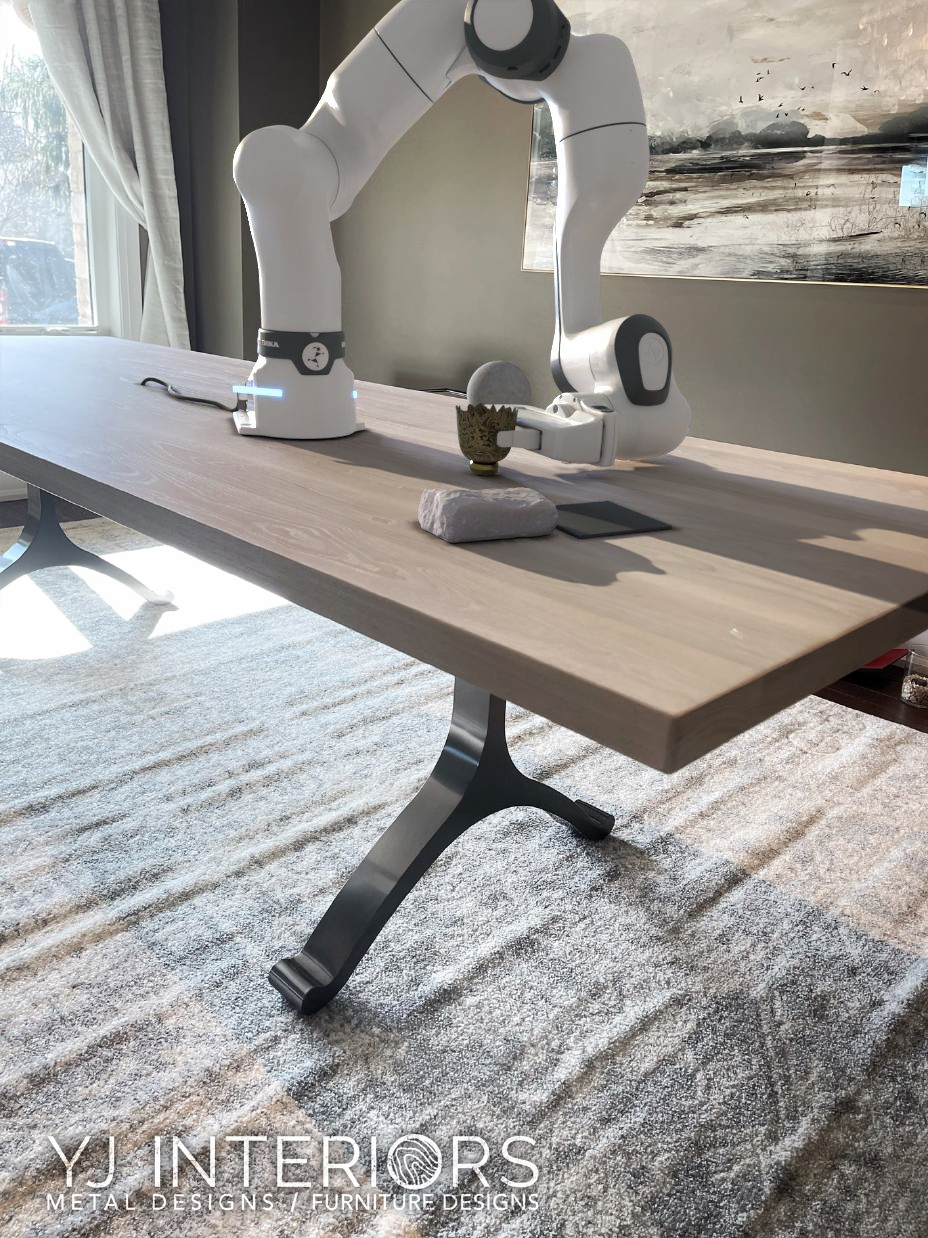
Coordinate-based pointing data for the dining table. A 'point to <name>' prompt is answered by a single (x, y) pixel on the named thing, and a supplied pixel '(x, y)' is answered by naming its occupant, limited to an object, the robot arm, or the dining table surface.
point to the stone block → (486, 513)
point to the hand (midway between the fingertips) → (479, 432)
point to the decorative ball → (499, 385)
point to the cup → (483, 435)
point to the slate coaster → (603, 520)
